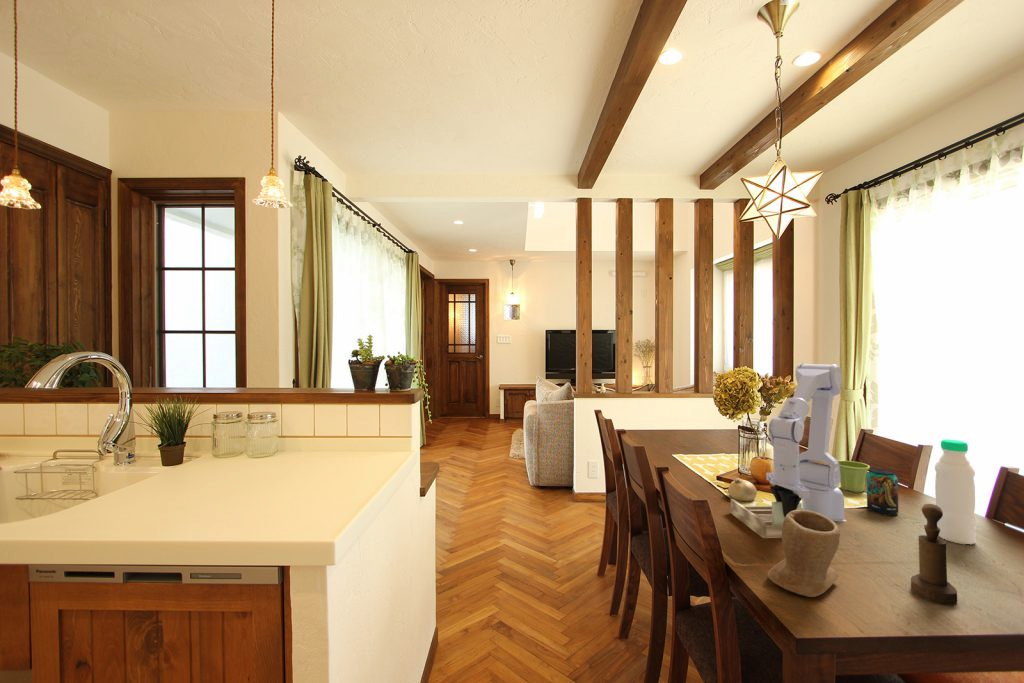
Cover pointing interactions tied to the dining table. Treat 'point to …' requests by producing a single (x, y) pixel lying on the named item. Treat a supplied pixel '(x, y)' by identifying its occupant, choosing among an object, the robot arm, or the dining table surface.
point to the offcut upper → (765, 517)
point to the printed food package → (882, 491)
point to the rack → (756, 519)
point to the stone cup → (807, 553)
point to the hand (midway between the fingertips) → (786, 516)
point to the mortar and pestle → (933, 562)
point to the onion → (742, 490)
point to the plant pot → (853, 475)
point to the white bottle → (955, 493)
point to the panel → (780, 513)
